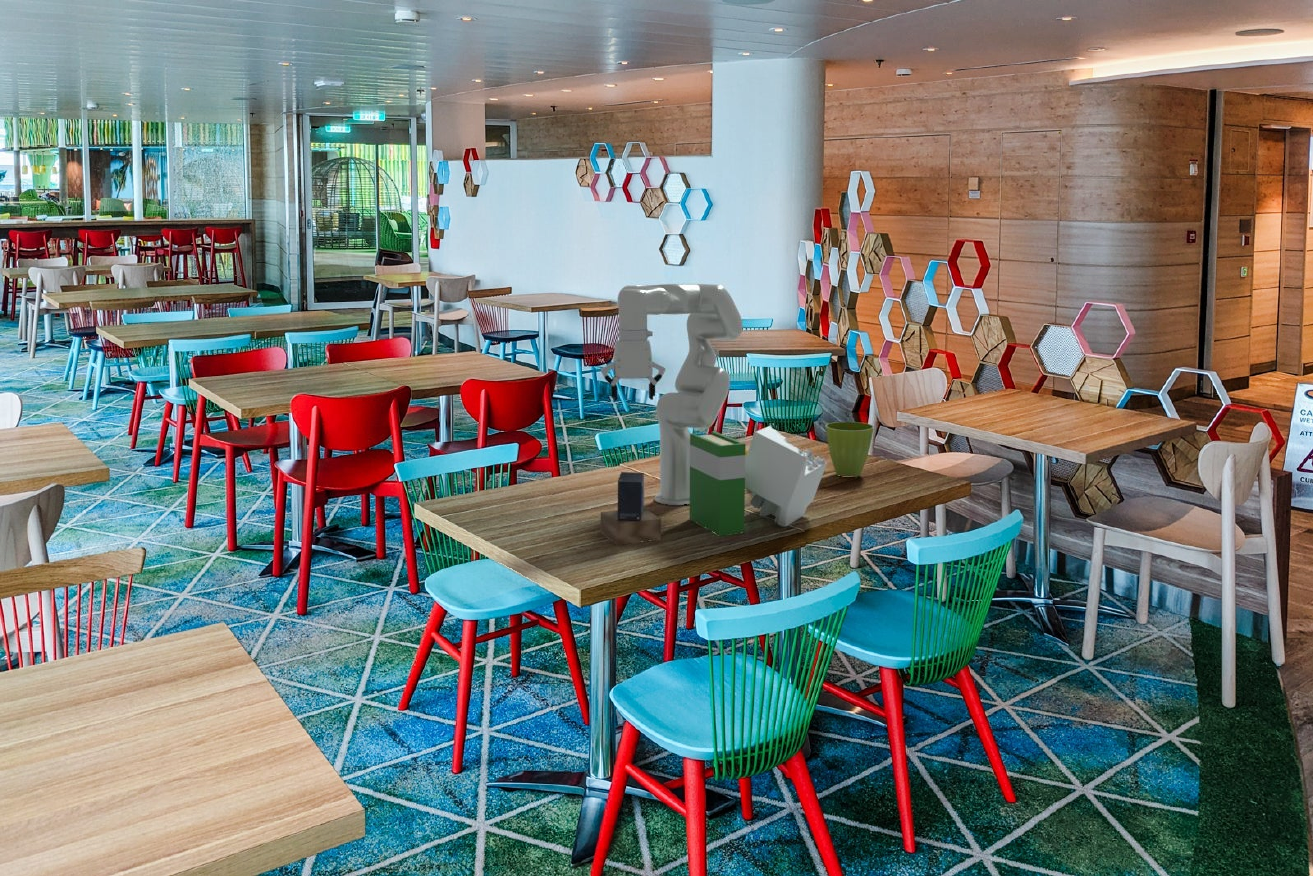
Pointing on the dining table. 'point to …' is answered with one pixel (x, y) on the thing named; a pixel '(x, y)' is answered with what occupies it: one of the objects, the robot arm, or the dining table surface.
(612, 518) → the walnut block
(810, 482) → the white toy brick
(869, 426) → the flower pot
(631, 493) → the small box
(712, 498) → the hardback book
